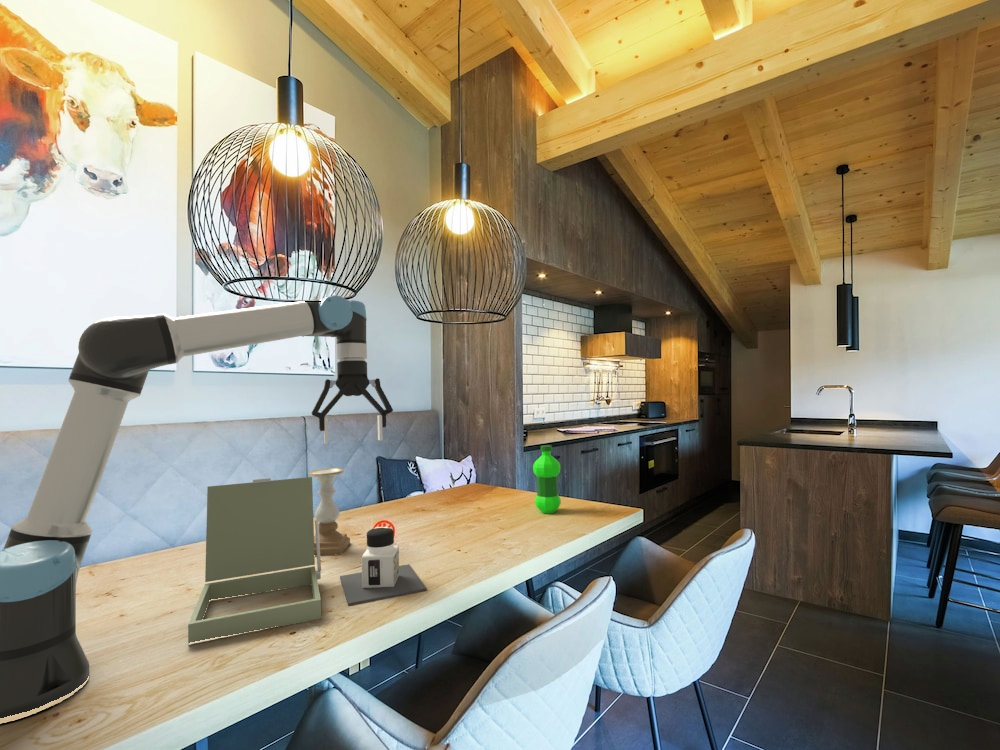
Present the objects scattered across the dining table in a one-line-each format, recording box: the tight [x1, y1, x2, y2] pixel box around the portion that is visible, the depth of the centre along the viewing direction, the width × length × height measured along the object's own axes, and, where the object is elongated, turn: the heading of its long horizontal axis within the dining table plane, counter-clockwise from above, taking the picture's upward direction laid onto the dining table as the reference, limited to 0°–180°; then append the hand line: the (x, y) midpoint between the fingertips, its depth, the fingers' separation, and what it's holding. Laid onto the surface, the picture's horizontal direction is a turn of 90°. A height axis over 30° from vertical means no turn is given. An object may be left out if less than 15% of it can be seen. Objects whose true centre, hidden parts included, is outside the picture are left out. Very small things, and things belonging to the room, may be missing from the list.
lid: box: [204, 476, 316, 583], centre depth 123 cm, size 23×24×2 cm
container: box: [361, 526, 400, 588], centre depth 122 cm, size 8×8×13 cm
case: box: [187, 519, 322, 644], centre depth 111 cm, size 25×25×15 cm
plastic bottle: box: [532, 444, 562, 514], centre depth 188 cm, size 10×10×25 cm
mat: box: [339, 563, 428, 606], centre depth 122 cm, size 18×18×1 cm
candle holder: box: [308, 467, 351, 556], centre depth 150 cm, size 11×11×24 cm
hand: (353, 442), depth 128 cm, fingers open, 13 cm apart
